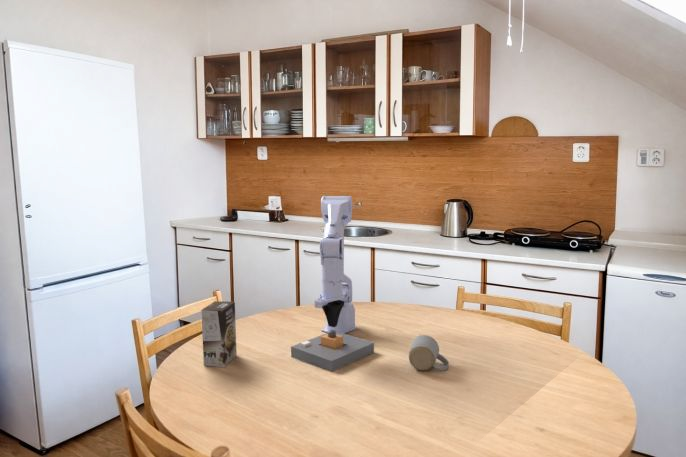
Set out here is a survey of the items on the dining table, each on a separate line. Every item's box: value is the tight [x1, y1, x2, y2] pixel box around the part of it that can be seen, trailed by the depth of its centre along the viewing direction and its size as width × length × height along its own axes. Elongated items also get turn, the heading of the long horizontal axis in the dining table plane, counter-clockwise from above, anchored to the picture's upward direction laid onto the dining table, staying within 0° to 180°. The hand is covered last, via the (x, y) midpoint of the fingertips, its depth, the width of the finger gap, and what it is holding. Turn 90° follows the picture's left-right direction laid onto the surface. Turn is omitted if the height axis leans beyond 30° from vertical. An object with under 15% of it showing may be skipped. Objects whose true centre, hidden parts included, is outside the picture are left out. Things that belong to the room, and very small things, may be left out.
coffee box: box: [201, 300, 238, 368], centre depth 150 cm, size 9×6×16 cm
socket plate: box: [290, 331, 375, 372], centre depth 154 cm, size 18×16×4 cm
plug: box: [320, 330, 343, 350], centre depth 154 cm, size 4×5×7 cm
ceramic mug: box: [408, 334, 450, 372], centre depth 145 cm, size 11×8×8 cm
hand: (332, 326), depth 153 cm, fingers closed
